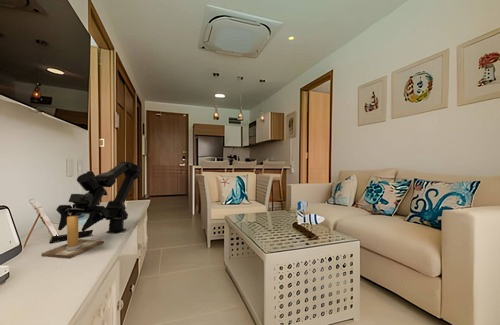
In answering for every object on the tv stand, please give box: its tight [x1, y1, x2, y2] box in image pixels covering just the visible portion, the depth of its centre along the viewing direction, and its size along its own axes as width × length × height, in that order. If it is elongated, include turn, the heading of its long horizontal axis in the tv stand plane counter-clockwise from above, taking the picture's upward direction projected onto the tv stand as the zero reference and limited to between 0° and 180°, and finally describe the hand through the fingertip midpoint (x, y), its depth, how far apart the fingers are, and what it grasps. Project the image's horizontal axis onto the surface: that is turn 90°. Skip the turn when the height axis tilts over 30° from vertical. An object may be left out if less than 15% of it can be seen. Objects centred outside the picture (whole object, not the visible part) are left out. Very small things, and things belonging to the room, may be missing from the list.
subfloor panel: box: [40, 238, 105, 259], centre depth 88 cm, size 16×12×1 cm
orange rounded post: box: [66, 214, 80, 251], centre depth 85 cm, size 4×4×13 cm
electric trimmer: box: [49, 229, 94, 244], centre depth 100 cm, size 4×16×3 cm, turn 135°
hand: (70, 230), depth 83 cm, fingers open, 9 cm apart
